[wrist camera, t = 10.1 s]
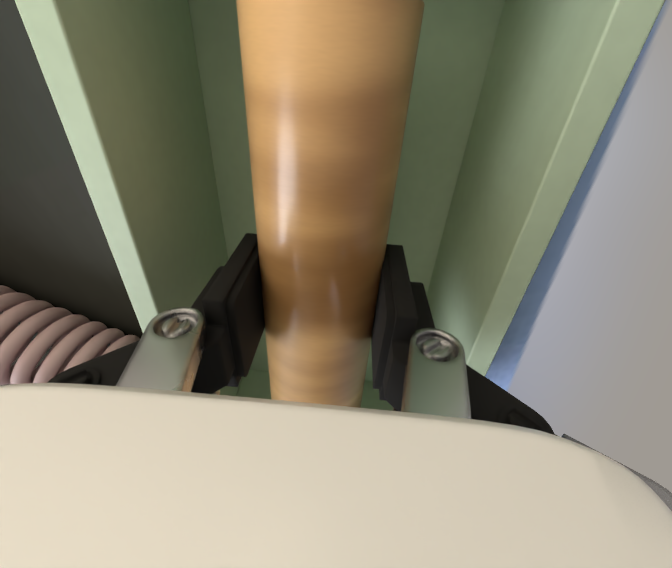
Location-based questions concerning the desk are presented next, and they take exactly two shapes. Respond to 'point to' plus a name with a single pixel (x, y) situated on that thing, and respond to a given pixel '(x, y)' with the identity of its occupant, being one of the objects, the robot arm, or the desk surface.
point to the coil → (48, 339)
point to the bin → (415, 162)
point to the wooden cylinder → (324, 177)
